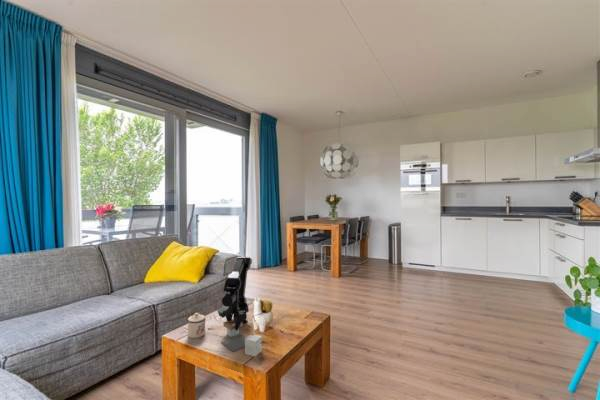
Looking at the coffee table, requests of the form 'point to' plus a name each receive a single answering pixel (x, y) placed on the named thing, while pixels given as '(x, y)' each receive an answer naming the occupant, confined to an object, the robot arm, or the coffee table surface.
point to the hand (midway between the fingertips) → (233, 327)
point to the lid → (231, 324)
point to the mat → (235, 342)
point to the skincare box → (253, 345)
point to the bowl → (232, 332)
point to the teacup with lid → (196, 326)
